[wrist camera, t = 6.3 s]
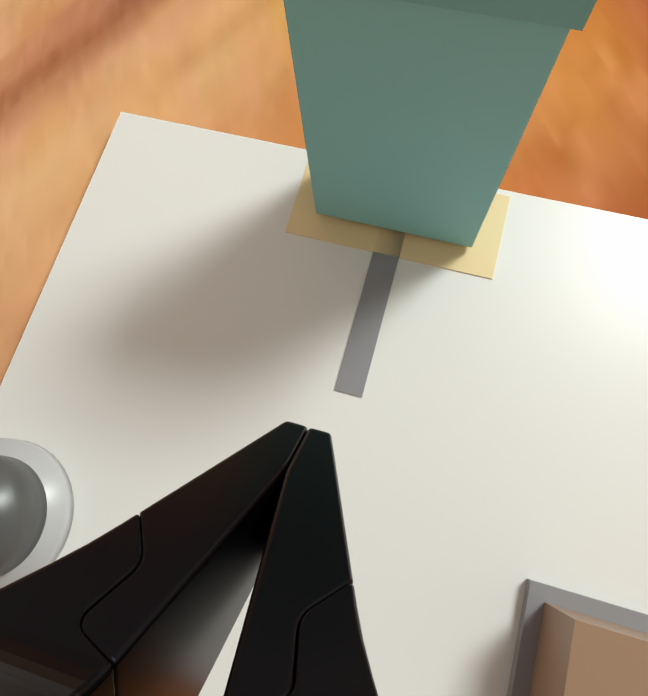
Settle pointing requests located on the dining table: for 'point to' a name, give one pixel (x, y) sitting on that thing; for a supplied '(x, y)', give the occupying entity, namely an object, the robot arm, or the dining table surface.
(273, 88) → the dining table surface
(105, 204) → the console
